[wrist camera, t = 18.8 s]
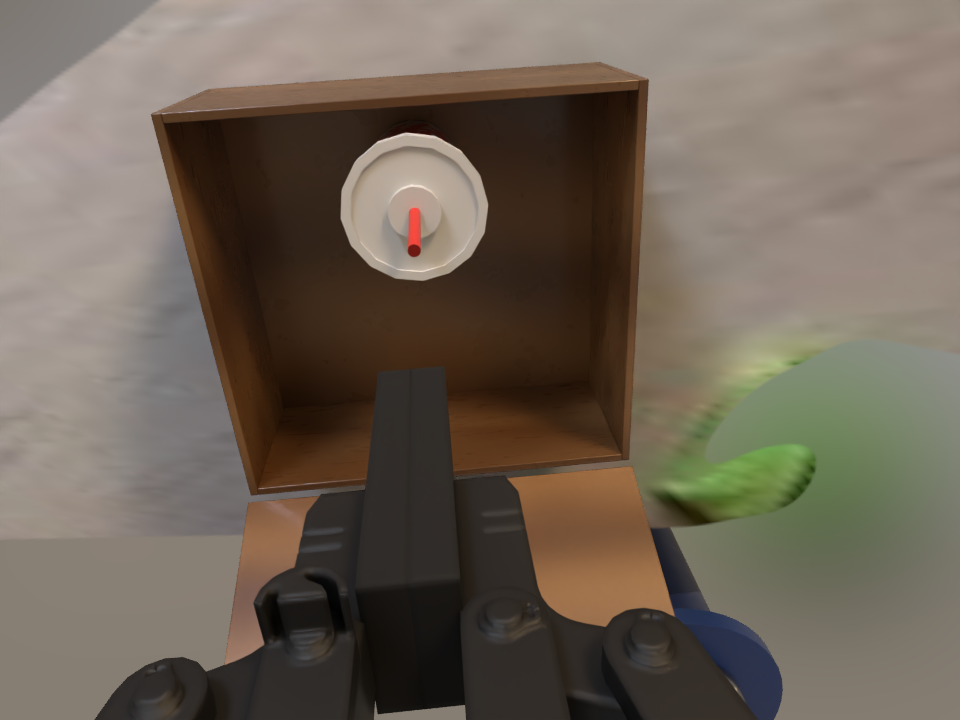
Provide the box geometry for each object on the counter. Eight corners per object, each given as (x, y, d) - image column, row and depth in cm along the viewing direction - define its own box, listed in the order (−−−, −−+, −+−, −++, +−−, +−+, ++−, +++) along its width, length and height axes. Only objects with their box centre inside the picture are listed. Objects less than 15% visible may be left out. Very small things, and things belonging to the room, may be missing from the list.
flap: (632, 465, 36) (631, 470, 36) (248, 502, 35) (250, 506, 36) (684, 646, 30) (682, 649, 30) (219, 695, 29) (221, 699, 29)
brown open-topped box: (593, 382, 44) (629, 459, 37) (279, 410, 43) (250, 495, 36) (600, 61, 36) (649, 78, 28) (207, 89, 35) (150, 113, 27)
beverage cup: (424, 244, 39) (427, 360, 26) (333, 173, 37) (290, 263, 24) (496, 157, 37) (536, 238, 25) (405, 77, 35) (398, 122, 22)
